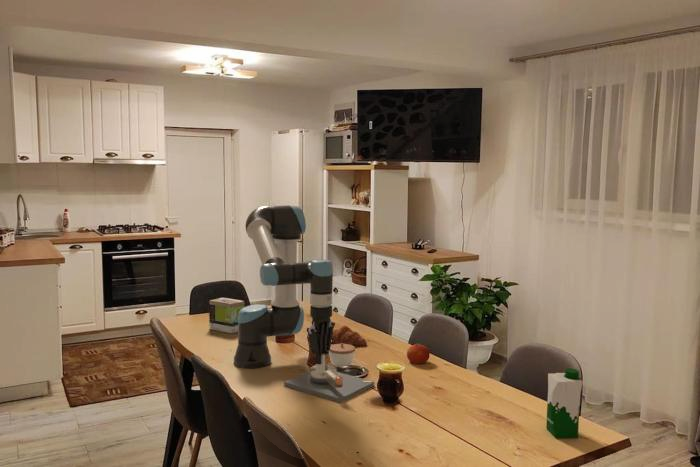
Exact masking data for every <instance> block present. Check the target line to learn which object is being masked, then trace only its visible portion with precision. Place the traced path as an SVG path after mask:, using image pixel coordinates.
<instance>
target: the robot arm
mask: <svg viewBox="0 0 700 467" xmlns="http://www.w3.org/2000/svg"><path fill="white" fill-rule="evenodd" d="M306 223H307V222H306V218H305V214H304V211H303V209H302V208H301V207H300V206H298V205H290V204H289V205H263V206H262V205H261V206H259V207H257V208H255V209H254V210H253V211H251V212H250V213H249V215H248V217H247V218H246V221H245V226H244V227H245V232H246V235H247V236H248V238H249V239H251V240H252V242H253V245H254V246H255V249H256V252H257V255H258V257H259V260H260V262H261V265H260V267H259V268H260V269H259V277H260V282H261V284H262V285H263V286H273V287H275V288H274V295H275V296H274V300H273V301H272V302H271V303H270V304H271V307H268V306H267V305H266V304H263V303H262V304H258V303H257V304H251V305H246V306H244V308H242V309H241V310H240V311H239V314H238V332H237V338H238V339H237V340H238V341H237V343H238V344H237V346H236V351H235V355H234V357H233V364H234V365H235V366H236V367H239V368H244V369H245V368H246V369H256V368H257V369H258V368H263V367H266V366H269V365H270V364H271V363H272V356H271V354H270V350H269V349H270V348H269V346H268V340H267V339H268V338H269V337H280V336H291V335H298V334H299V333H300V332H301V331H302V329H303V326H304V321H305V314H304V308H303V307H302V306H301V305H300V302H299V301H298V299H297V285H304V284H305V285H309V284H310V291H309V292H310V293H309V294H310V295H309V297H310V298H309V301H310V303H309V304H310V307H309V308H310V309H309V310H310V311H309V312H310V314H309V315H310V317H311V318H312V319H311V320H312V321H311V326H309V327H307V328H306V333H307V334H308V339H309V340H308V341H309V346H310V351H311V354H313V355H315V365H316V372H317V373H321V374H323V373H325V363H327V362H326V361H327V359H326V358H327V355H329V350H330V347H331V345H332V343H331V340H332V334H333V331H334V328H335V326H336V322H334V321H331V317H333V306H332V304H333V284H334V283H333V281H334V280H333V279H334V278H333V277H334V275H333V274H334V268H333V262H332V260H330V259H313V260H306V261H303V262H297V261H298V260H297V255H298V254H297V252H298V250H297V249H298V248H297V247H298V242H299V241H300V240H301V239H302V238H301V236H302V235H303V234H305V232H306V229H307V224H306Z"/></svg>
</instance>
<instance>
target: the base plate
mask: <svg viewBox="0 0 700 467" xmlns="http://www.w3.org/2000/svg"><path fill="white" fill-rule="evenodd" d="M337 376H341V377H343V387H341V389H338V390H336V389H335V388H334V387H333V386H331V385H330V384H317V383H313V382H311V381H310V370H308V372H307V371H306V372H305V373H303V374H300V375H298V376H294V377H293V378H290V379H288V380H285V381H284V382H283V384H284V385H283V386H285V387H288V388H291V389H293V390H294V389H295V390H297V391H300V392H303V393H307V394H311V395H312V396H313V395H314V396H317V397H321V398H324V399H327V400H329V401H333V402H337V403H343V402H346V401H347V400H349V399H350V398H352V397H353V398H354V396H356V395H358V394H360V393H363V392H364V391H366V390H368V389H371V388H372V387H375V381H373V380H370V379H365V378H361V377H358V376H355V375H351V374H346V373H342V372H340V371H337Z"/></svg>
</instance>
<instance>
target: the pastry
mask: <svg viewBox="0 0 700 467" xmlns="http://www.w3.org/2000/svg"><path fill="white" fill-rule="evenodd" d="M341 343H343V344H349V345H352V346H354V347H363V346H367V345H368V343H367V341H366V338H363V337H362V336H361V334H359V333H358V332H357V331H353V330H352V329H351V328H350V327H348V326H347V325H343V326H341V327H340V328H339V329H338V328H337V329H336V328H335V329H333V334H332V343H331V344H332V345H334V344H341Z"/></svg>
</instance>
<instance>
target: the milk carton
mask: <svg viewBox="0 0 700 467" xmlns="http://www.w3.org/2000/svg"><path fill="white" fill-rule="evenodd" d="M579 376H580V371H579V370H578V369H576V368H565V370H564V372H555V373H554V372H553V373H547V388H548V389H547V405H546V423H545V424H546V427H545V428H547V429H546V430H547V431H548V432H549V433H550V434H551V436H553V437H554V438H555V439H578V438H579V428H580V427H579V425H580V424H579V422H580V421H579V420H580V419H579V418H580V409H581V408H580V406H581V392H582V387H583V385H584V381H583V380H582V379H581V378H580V377H579Z"/></svg>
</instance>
